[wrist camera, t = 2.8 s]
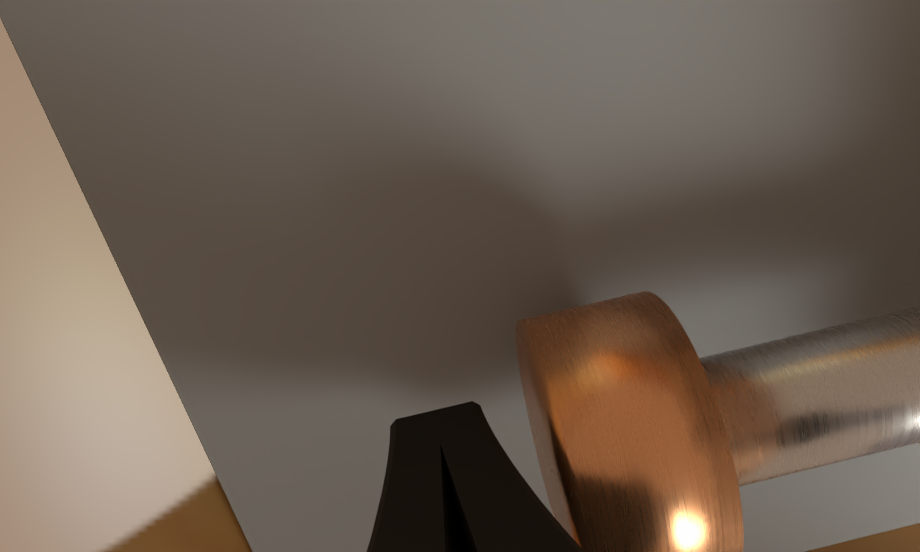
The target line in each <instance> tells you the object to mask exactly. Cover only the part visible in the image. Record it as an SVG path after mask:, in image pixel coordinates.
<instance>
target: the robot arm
mask: <svg viewBox="0 0 920 552" xmlns="http://www.w3.org/2000/svg"><path fill="white" fill-rule="evenodd" d="M367 552H585V551H584V550H583V549H582V548H581V547H580V546H579V545H578V544H577V542H576V541H575V540H574V539H573V538H572V537H571V536H570V535H569V534H568V532H567V531H566V530H565V529H564V528H563V527H562V525H561V524H560V523H559V522H558V521H557V520H556V519H555V517H554V516H553V515H552V514H551V513H550V511H549V510H548V509H547V508H546V507H545V505H544V504H543V503H542V502H541V500H540V499H539V498H538V496H537V495H536V494H535V493H534V491H533V490H532V489H531V487H530V486H529V485H528V483H527V482H526V481H525V479H524V478H523V477H522V475H521V474H520V473H519V471H518V470H517V468H516V467H515V466H514V464H513V463H512V461H511V460H510V458H509V457H508V455H507V454H506V452H505V451H504V449H503V448H502V446H501V444H500V443H499V441H498V440H497V438H496V436H495V435H494V433H493V431H492V429H491V427H490V426H489V424H488V422H487V420H486V417H485V415H484V413H483V411H482V408H481V406H480V405H479V404H477V403H475V402H473V401H471V402H466V403H462V404H458V405H454V406H449V407H445V408H441V409H437V410H433V411H428V412H424V413H420V414H416V415H412V416H407V417H403V418H399V419H396V420H395V421H394V422H393V423H392V425H391V426H390V443H389V453H388V460H387V467H386V473H385V478H384V483H383V489H382V494H381V498H380V502H379V506H378V510H377V515H376V519H375V523H374V527H373V531H372V535H371V539H370V542H369V545H368V549H367Z"/></svg>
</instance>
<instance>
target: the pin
mask: <svg viewBox="0 0 920 552" xmlns="http://www.w3.org/2000/svg"><path fill="white" fill-rule="evenodd" d="M516 347H517V356H518V364H519V370H520V377H521V383H522V388H523V393H524V399H525V404H526V409H527V414H528V418H529V423H530V428H531V432H532V436H533V441H534V445H535V449H536V453H537V457H538V461H539V465H540V469H541V473H542V477H543V481H544V485H545V488H546V492H547V496H548V499H549V503H550V507H551V510H552V513H553V516H554V517H555V519H556V520H557V521H558V522H559V523H560V524H561V525H562V527H563V528H564V529H565V530H566V531H567V532H568V534H569V535H570V536H571V537H572V538H573V539H574V540H575V541H576V542H577V544H578V545H579V546H580V547H581V548H582V549H583V550H584V551H585V552H743V547H744V528H743V514H742V506H741V499H740V492H739V486H743V485H747V484H751V483H755V482H760V481H764V480H768V479H772V478H776V477H780V476H784V475H788V474H792V473H796V472H800V471H804V470H808V469H813V468H817V467H821V466H825V465H829V464H833V463H837V462H841V461H845V460H849V459H853V458H857V457H862V456H866V455H870V454H874V453H878V452H882V451H886V450H890V449H894V448H898V447H902V446H906V445H910V444H915V443H919V442H920V306H917V307H912V308H908V309H904V310H900V311H895V312H891V313H887V314H883V315H878V316H874V317H870V318H866V319H861V320H857V321H853V322H849V323H845V324H840V325H836V326H832V327H828V328H823V329H819V330H815V331H811V332H806V333H802V334H798V335H794V336H790V337H785V338H781V339H777V340H773V341H768V342H764V343H760V344H756V345H751V346H747V347H743V348H739V349H735V350H730V351H726V352H722V353H718V354H713V355H709V356H705V357H701V358H699V357H698V355H697V353H696V351H695V349H694V347H693V345H692V343H691V341H690V339H689V337H688V335H687V333H686V332H685V330H684V328H683V327H682V325H681V323H680V322H679V320H678V319H677V317H676V316H675V314H674V313H673V312H672V310H671V309H670V308H669V306H668V305H667V304H666V303H665V302H664V301H663V300H662V299H661V298H660V297H658V296H657V295H656V294H654V293H652V292H650V291H642V292H638V293H633V294H629V295H625V296H620V297H616V298H612V299H607V300H603V301H599V302H594V303H590V304H586V305H581V306H577V307H573V308H568V309H564V310H560V311H555V312H551V313H547V314H543V315H538V316H534V317H530V318H525V319H521V320H518V321H517V324H516Z"/></svg>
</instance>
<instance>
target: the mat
mask: <svg viewBox="0 0 920 552" xmlns="http://www.w3.org/2000/svg"><path fill="white" fill-rule="evenodd" d="M0 18H1V20H2V22H3V24H4V26H5V28H6V31H7V33H8V35H9V37H10V39H11V41H12V43H13V45H14V48H15V50H16V52H17V54H18V56H19V58H20V60H21V62H22V65H23V67H24V69H25V71H26V73H27V75H28V77H29V79H30V81H31V84H32V86H33V88H34V90H35V92H36V94H37V96H38V98H39V100H40V103H41V105H42V107H43V109H44V111H45V113H46V115H47V117H48V120H49V122H50V124H51V126H52V128H53V130H54V132H55V134H56V137H57V139H58V141H59V143H60V145H61V147H62V149H63V151H64V153H65V156H66V158H67V160H68V162H69V164H70V166H71V168H72V170H73V172H74V175H75V177H76V179H77V181H78V183H79V185H80V187H81V189H82V192H83V194H84V196H85V198H86V200H87V202H88V204H89V206H90V208H91V210H92V213H93V215H94V217H95V219H96V221H97V223H98V225H99V228H100V230H101V232H102V234H103V236H104V238H105V240H106V242H107V244H108V247H109V249H110V251H111V253H112V255H113V257H114V259H115V261H116V264H117V266H118V268H119V270H120V272H121V274H122V276H123V278H124V281H125V283H126V285H127V287H128V289H129V291H130V293H131V295H132V297H133V300H134V302H135V304H136V306H137V308H138V310H139V312H140V314H141V317H142V319H143V321H144V323H145V325H146V327H147V329H148V331H149V333H150V336H151V338H152V340H153V342H154V344H155V346H156V348H157V350H158V352H159V355H160V356H161V359H162V361H163V363H164V365H165V367H166V369H167V372H168V373H169V375H170V378H171V380H172V382H173V384H174V386H175V388H176V391H177V393H178V395H179V397H180V399H181V401H182V403H183V405H184V407H185V410H186V412H187V414H188V416H189V418H190V420H191V422H192V424H193V426H194V429H195V431H196V433H197V435H198V437H199V439H200V441H201V444H202V446H203V447H204V450H205V452H206V454H207V456H208V458H209V460H210V463H211V465H212V467H213V469H214V471H215V473H216V475H217V477H218V480H219V482H220V484H221V486H222V488H223V490H224V492H225V494H226V496H227V499H228V501H229V503H230V505H231V507H232V509H233V511H234V513H235V516H236V518H237V520H238V522H239V524H240V526H241V528H242V530H243V532H244V535H245V537H246V539H247V541H248V543H249V545H250V547H251V549H252V552H367V549H368V545H369V542H370V539H371V535H372V531H373V527H374V523H375V519H376V515H377V510H378V506H379V502H380V498H381V494H382V489H383V483H384V478H385V473H386V467H387V460H388V453H389V443H390V426H391V425H392V423H393V422H394V421H395V420H396V419H399V418H403V417H407V416H412V415H416V414H420V413H424V412H428V411H433V410H437V409H441V408H445V407H449V406H454V405H458V404H462V403H466V402H471V401H473V402H475V403H477V404H479V405H480V406H481V408H482V411H483V413H484V415H485V417H486V420H487V422H488V424H489V426H490V427H491V429H492V431H493V433H494V435H495V436H496V438H497V440H498V441H499V443H500V444H501V446H502V448H503V449H504V451H505V452H506V454H507V455H508V457H509V458H510V460H511V461H512V463H513V464H514V466H515V467H516V468H517V470H518V471H519V473H520V474H521V475H522V477H523V478H524V479H525V481H526V482H527V483H528V485H529V486H530V487H531V489H532V490H533V491H534V493H535V494H536V495H537V496H538V498H539V499H540V500H541V502H542V503H543V504H544V505H545V507H546V508H547V509H548V510H549V511H550V513H551V514H552V515H553V513H552V510H551V507H550V503H549V499H548V496H547V492H546V488H545V485H544V481H543V477H542V473H541V469H540V465H539V461H538V457H537V453H536V449H535V445H534V441H533V436H532V432H531V428H530V423H529V418H528V414H527V409H526V404H525V399H524V393H523V388H522V383H521V377H520V370H519V364H518V356H517V347H516V324H517V321H518V320H521V319H525V318H530V317H534V316H538V315H543V314H547V313H551V312H555V311H560V310H564V309H568V308H573V307H577V306H581V305H586V304H590V303H594V302H599V301H603V300H607V299H612V298H616V297H620V296H625V295H629V294H633V293H638V292H642V291H650V292H652V293H654V294H656V295H657V296H658V297H660V298H661V299H662V300H663V301H664V302H665V303H666V304H667V305H668V306H669V308H670V309H671V310H672V312H673V313H674V314H675V316H676V317H677V319H678V320H679V322H680V323H681V325H682V327H683V328H684V330H685V332H686V333H687V335H688V337H689V339H690V341H691V343H692V345H693V347H694V349H695V351H696V353H697V355H698V357H699V358H701V357H705V356H709V355H713V354H718V353H722V352H726V351H730V350H735V349H739V348H743V347H747V346H751V345H756V344H760V343H764V342H768V341H773V340H777V339H781V338H785V337H790V336H794V335H798V334H802V333H806V332H811V331H815V330H819V329H823V328H828V327H832V326H836V325H840V324H845V323H849V322H853V321H857V320H861V319H866V318H870V317H874V316H878V315H883V314H887V313H891V312H895V311H900V310H904V309H908V308H912V307H917V306H920V0H0ZM739 492H740V499H741V506H742V514H743V528H744V547H743V552H805V551H809V550H813V549H817V548H821V547H825V546H829V545H833V544H837V543H841V542H845V541H849V540H853V539H857V538H861V537H865V536H869V535H873V534H877V533H881V532H885V531H889V530H893V529H897V528H901V527H905V526H909V525H913V524H917V523H920V444H919V443H915V444H910V445H906V446H902V447H898V448H894V449H890V450H886V451H882V452H878V453H874V454H870V455H866V456H862V457H857V458H853V459H849V460H845V461H841V462H837V463H833V464H829V465H825V466H821V467H817V468H813V469H808V470H804V471H800V472H796V473H792V474H788V475H784V476H780V477H776V478H772V479H768V480H764V481H760V482H755V483H751V484H747V485H743V486H739Z"/></svg>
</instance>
